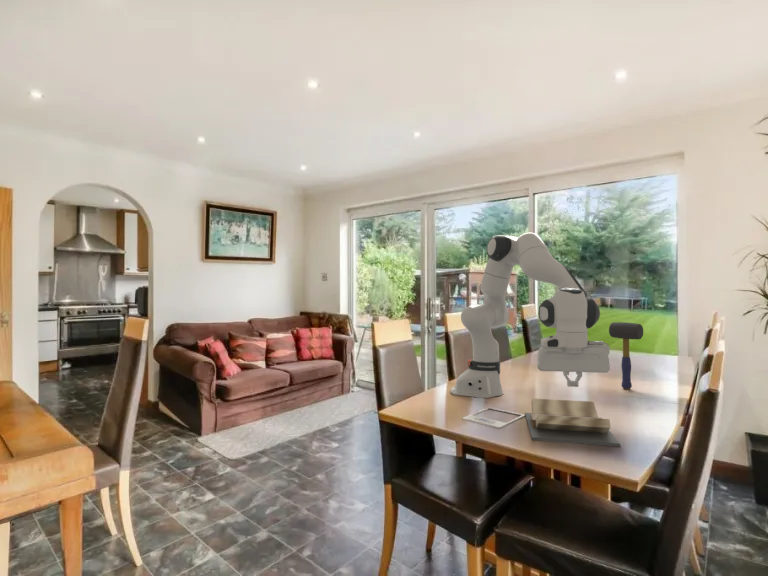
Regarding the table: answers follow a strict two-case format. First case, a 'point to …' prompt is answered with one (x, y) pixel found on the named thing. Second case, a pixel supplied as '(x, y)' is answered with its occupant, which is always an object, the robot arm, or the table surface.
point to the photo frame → (488, 421)
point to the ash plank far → (564, 407)
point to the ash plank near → (573, 423)
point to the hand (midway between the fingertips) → (572, 386)
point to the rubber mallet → (626, 346)
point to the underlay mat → (571, 435)
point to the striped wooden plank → (534, 416)
